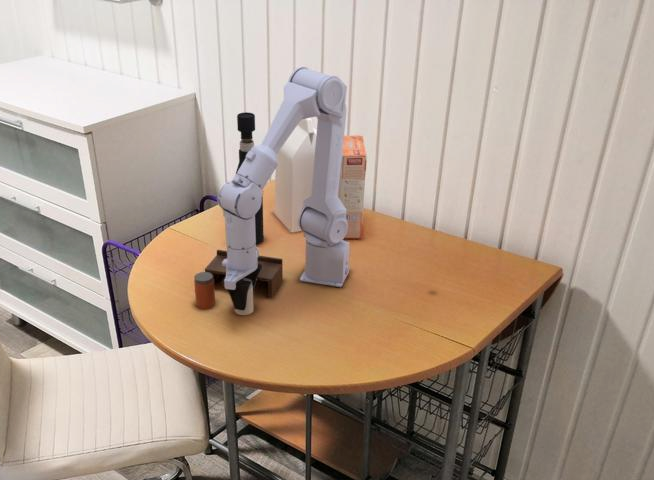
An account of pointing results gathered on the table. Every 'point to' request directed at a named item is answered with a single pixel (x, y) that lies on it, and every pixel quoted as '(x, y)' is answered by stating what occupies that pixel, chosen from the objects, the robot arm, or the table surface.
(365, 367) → the table surface
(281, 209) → the milk
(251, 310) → the salt shaker
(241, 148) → the black water bottle
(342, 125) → the robot arm
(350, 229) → the cracker box
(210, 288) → the pepper shaker
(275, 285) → the shelf
